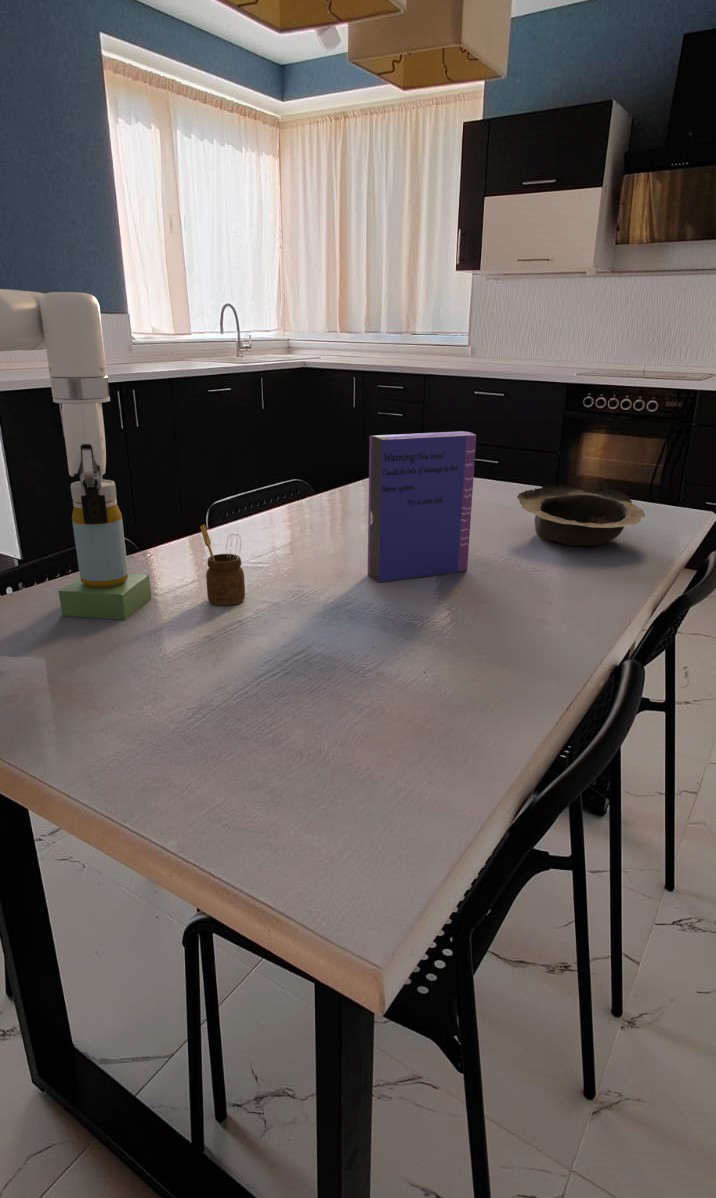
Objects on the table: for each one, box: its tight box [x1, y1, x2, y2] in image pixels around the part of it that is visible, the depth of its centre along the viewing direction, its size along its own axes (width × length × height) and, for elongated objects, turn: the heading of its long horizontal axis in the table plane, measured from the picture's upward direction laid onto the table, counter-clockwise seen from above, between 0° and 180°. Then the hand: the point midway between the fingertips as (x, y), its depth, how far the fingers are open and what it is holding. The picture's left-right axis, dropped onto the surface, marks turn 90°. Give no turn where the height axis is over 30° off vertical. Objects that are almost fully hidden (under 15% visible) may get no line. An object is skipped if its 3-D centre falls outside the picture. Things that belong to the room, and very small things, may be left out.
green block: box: [58, 572, 152, 621], centre depth 118 cm, size 10×10×4 cm
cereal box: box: [367, 430, 477, 584], centre depth 132 cm, size 17×5×24 cm, turn 113°
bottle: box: [70, 479, 129, 588], centre depth 115 cm, size 7×7×15 cm
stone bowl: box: [516, 483, 646, 548], centre depth 158 cm, size 25×25×9 cm
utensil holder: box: [199, 524, 246, 607], centre depth 120 cm, size 6×6×12 cm
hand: (96, 516), depth 114 cm, fingers closed on bottle, 7 cm apart
